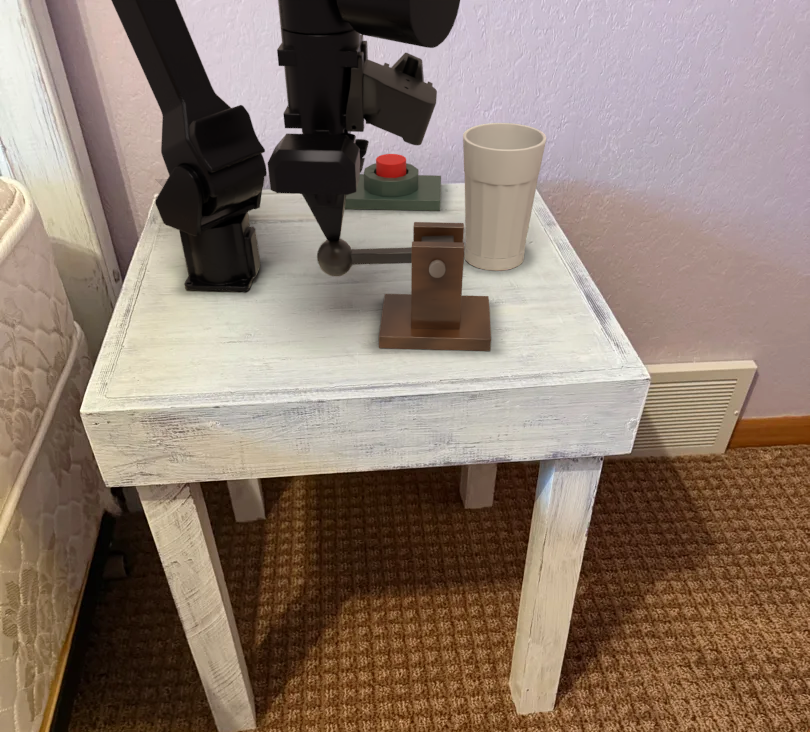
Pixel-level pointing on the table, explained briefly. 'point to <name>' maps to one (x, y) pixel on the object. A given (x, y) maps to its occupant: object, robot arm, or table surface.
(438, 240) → the lever
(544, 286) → the table surface
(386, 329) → the bracket
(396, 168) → the button
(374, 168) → the button block
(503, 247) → the cup
